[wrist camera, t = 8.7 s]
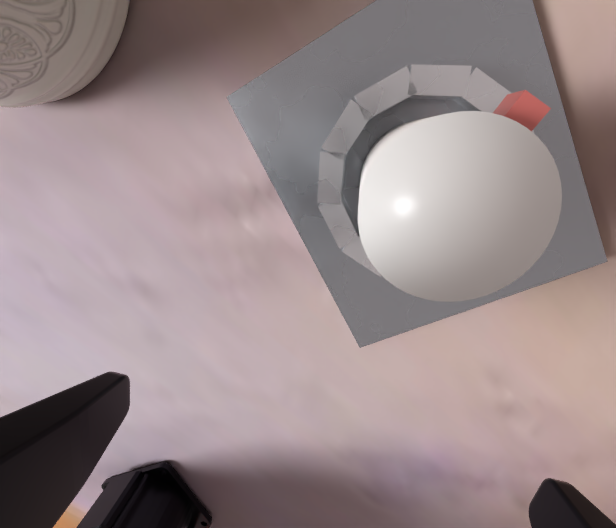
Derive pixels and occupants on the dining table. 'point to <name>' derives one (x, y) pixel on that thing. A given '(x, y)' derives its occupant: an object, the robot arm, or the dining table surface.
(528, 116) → the cylinder
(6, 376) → the dining table surface
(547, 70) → the plate
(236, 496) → the dining table surface
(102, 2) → the jar
